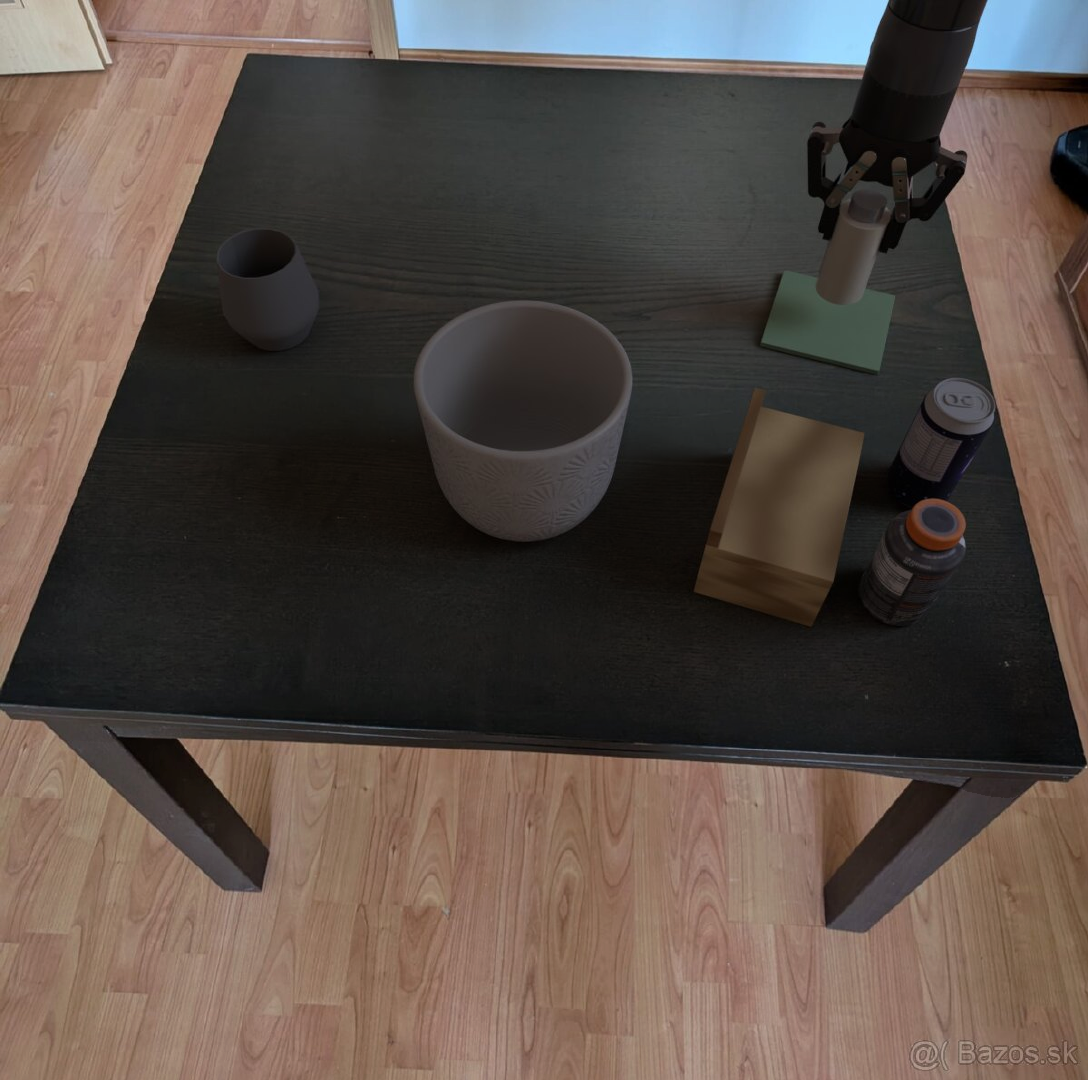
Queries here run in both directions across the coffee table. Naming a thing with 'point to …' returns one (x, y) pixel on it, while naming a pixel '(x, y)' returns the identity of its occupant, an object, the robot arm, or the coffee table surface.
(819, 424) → the stepped wooden block
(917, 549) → the pill bottle
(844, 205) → the spice bottle
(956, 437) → the beverage can
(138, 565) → the coffee table surface
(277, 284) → the cup
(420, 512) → the coffee table surface
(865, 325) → the mat
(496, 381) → the planter
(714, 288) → the coffee table surface
